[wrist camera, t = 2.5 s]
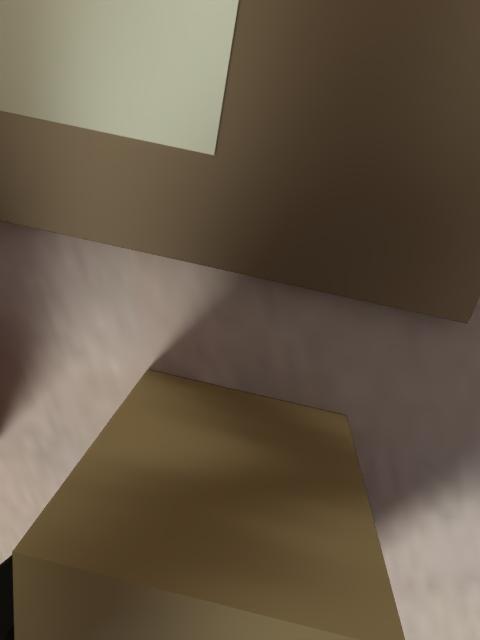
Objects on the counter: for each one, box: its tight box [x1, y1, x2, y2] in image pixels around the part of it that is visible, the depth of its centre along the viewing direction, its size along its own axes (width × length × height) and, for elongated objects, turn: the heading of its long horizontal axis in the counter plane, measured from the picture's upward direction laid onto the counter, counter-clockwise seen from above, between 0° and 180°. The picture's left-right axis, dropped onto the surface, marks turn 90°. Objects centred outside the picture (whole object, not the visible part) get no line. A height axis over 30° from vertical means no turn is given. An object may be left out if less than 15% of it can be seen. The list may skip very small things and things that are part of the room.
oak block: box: [12, 370, 405, 640], centre depth 8 cm, size 5×7×5 cm
